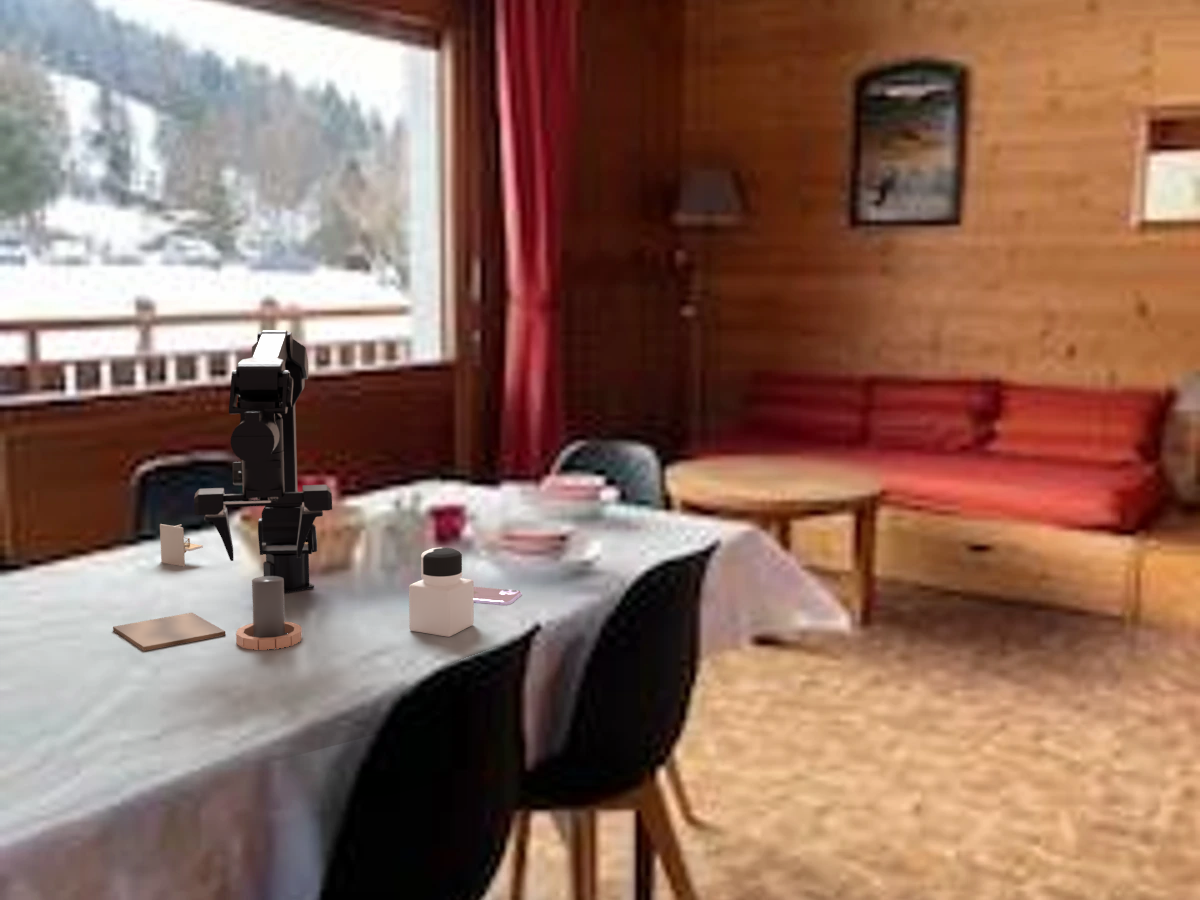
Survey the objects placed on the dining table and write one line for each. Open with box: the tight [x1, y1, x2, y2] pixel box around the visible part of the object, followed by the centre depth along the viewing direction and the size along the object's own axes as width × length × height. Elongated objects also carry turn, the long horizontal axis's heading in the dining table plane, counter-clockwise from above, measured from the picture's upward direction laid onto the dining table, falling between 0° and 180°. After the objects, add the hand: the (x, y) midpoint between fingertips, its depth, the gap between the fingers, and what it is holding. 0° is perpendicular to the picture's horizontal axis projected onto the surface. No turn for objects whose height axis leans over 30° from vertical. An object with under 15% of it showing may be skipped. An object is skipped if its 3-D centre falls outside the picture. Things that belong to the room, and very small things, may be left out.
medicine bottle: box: [408, 547, 475, 638], centre depth 190 cm, size 7×7×12 cm
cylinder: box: [251, 575, 286, 638], centre depth 183 cm, size 4×4×9 cm
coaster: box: [112, 612, 226, 652], centre depth 187 cm, size 12×12×1 cm
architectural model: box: [159, 523, 204, 567], centre depth 227 cm, size 3×7×7 cm, turn 62°
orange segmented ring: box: [235, 621, 303, 651], centre depth 184 cm, size 9×9×2 cm
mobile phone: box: [474, 586, 523, 606], centre depth 209 cm, size 8×1×15 cm
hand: (265, 558), depth 182 cm, fingers open, 9 cm apart
